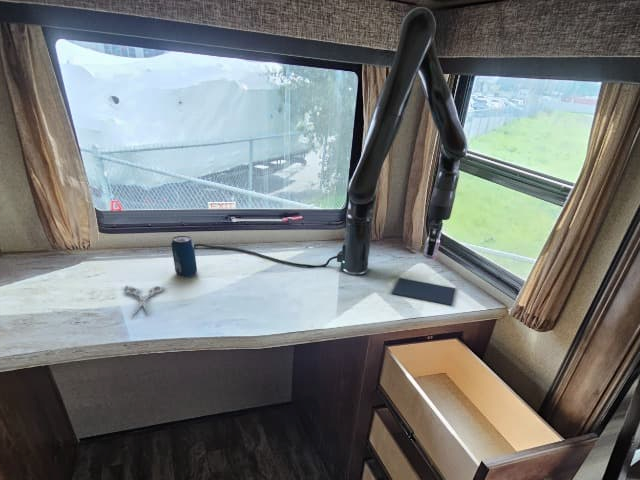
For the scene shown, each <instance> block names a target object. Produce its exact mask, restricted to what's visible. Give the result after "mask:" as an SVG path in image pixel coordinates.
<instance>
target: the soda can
mask: <svg viewBox="0 0 640 480" xmlns="http://www.w3.org/2000/svg"><path fill="white" fill-rule="evenodd" d="M170 244H171V245H170V246H171V252H172V257H173V263H174V270H175V273H176V274H177V275H178V277H180V278H192V277H195V276H196V273H197V272H198V268H197V258H196V252H195V247H194V245H195V244H194V242H193V240H192V238H191V237H190V236H188V235H177V236H174V237H172V241H171V243H170Z"/></svg>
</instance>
